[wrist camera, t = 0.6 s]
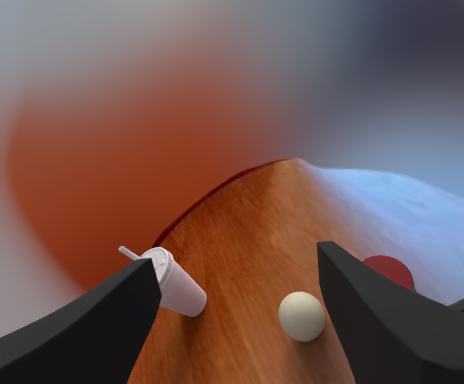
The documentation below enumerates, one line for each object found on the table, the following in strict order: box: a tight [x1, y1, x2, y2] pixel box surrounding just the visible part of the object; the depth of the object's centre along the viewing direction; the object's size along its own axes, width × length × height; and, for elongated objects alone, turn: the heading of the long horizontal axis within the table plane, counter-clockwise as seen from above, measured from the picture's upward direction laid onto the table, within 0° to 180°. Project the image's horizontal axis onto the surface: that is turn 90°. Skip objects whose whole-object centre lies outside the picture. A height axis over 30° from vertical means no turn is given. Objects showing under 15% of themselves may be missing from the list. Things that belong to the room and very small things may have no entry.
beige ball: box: [279, 292, 325, 342], centre depth 26 cm, size 4×4×4 cm
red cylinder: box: [361, 255, 416, 293], centre depth 24 cm, size 5×5×4 cm
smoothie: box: [119, 246, 207, 317], centre depth 32 cm, size 6×6×14 cm
